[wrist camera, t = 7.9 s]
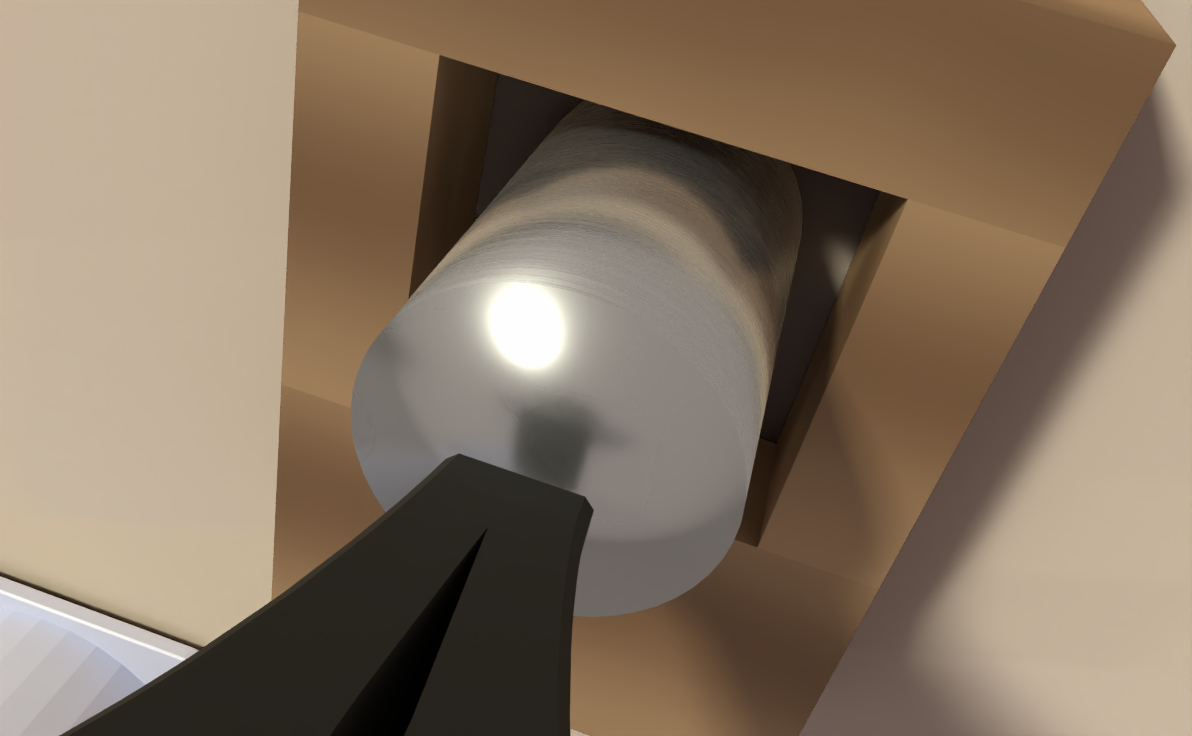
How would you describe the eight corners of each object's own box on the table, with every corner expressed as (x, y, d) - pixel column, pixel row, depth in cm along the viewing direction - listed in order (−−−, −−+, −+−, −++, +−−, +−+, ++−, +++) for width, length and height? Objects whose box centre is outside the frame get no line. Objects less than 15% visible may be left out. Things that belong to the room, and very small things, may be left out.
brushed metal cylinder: (765, 365, 16) (699, 660, 11) (517, 300, 16) (348, 553, 11) (836, 117, 14) (793, 348, 9) (547, 51, 14) (352, 234, 9)
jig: (779, 684, 19) (763, 799, 17) (335, 527, 20) (270, 619, 18) (1131, -14, 12) (1176, 45, 10) (405, -219, 13) (307, -206, 11)
